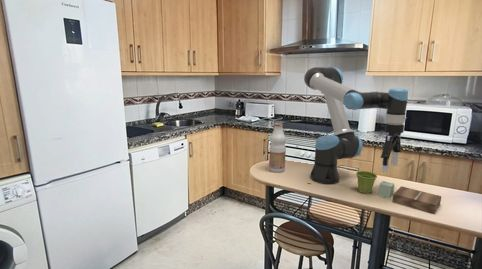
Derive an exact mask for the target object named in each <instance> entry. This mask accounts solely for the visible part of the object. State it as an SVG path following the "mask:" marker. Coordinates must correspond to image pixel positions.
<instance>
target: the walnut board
mask: <svg viewBox="0 0 482 269" xmlns="http://www.w3.org/2000/svg"><path fill="white" fill-rule="evenodd" d="M441 201H442V196H441V195H438V194H433V193H430V192H426V191H423V190H417V189H414V188H410V187H406V186H400V187H399V188H398V189H396V190H395V192H393V196H392V203H394V204H397V205H401V206H405V207H409V208H410V209H411V208H412V209H416V210H418V211H422V212H426V213H429V214H432V215H436V212H437V211H438V209H439V207H440V205H441Z"/></svg>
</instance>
